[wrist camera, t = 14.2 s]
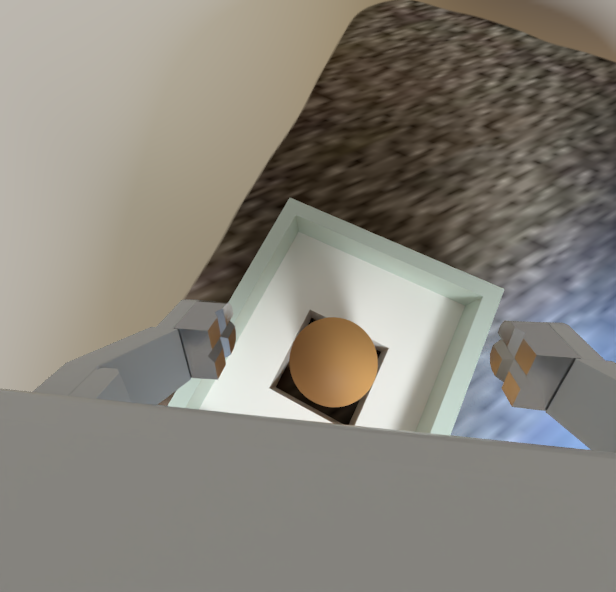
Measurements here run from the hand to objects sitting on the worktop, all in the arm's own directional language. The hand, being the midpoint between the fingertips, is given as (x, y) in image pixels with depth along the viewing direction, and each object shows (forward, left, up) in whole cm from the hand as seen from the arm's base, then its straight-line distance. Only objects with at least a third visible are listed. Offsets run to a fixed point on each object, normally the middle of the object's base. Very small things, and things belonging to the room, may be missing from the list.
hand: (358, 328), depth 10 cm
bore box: (+1, 0, -15) cm, 15 cm away
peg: (+1, 0, -15) cm, 15 cm away
